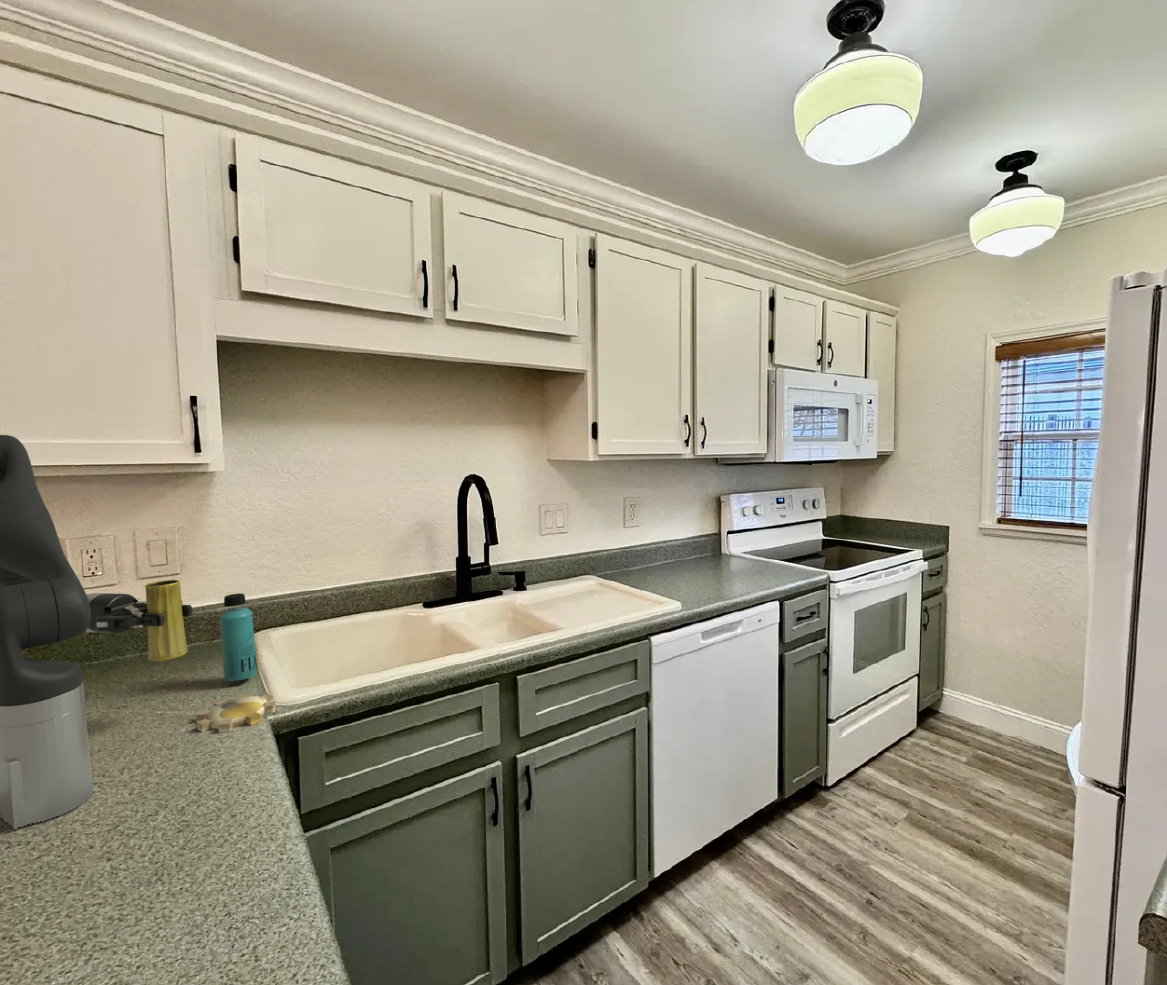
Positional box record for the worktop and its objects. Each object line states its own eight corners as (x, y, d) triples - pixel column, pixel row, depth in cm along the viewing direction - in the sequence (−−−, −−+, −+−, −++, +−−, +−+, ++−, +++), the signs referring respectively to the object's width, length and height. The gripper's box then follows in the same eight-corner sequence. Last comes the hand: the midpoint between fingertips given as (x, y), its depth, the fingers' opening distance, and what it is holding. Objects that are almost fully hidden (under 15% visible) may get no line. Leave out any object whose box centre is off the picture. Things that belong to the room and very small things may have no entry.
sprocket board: (218, 739, 99) (218, 731, 98) (182, 722, 105) (181, 715, 105) (289, 708, 110) (289, 701, 110) (252, 695, 117) (252, 688, 116)
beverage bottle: (242, 688, 120) (235, 599, 119) (216, 686, 121) (209, 598, 120) (264, 676, 126) (258, 591, 125) (240, 674, 128) (234, 590, 126)
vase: (195, 651, 108) (190, 579, 107) (164, 663, 102) (158, 587, 101) (171, 648, 110) (166, 578, 108) (139, 660, 104) (133, 586, 103)
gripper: (60, 604, 100) (139, 606, 97) (136, 585, 114) (207, 586, 112) (64, 644, 101) (142, 647, 98) (139, 620, 115) (209, 622, 112)
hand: (176, 615), depth 105 cm, fingers closed on vase, 5 cm apart
